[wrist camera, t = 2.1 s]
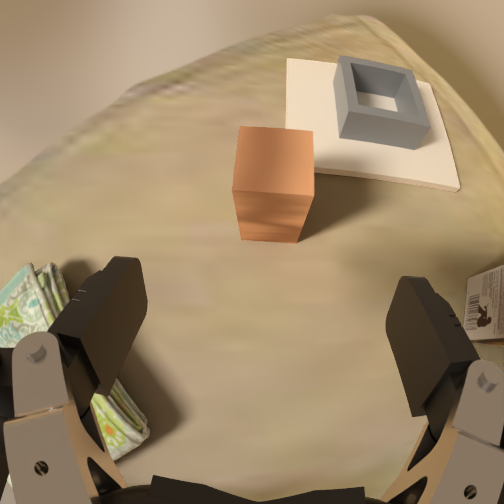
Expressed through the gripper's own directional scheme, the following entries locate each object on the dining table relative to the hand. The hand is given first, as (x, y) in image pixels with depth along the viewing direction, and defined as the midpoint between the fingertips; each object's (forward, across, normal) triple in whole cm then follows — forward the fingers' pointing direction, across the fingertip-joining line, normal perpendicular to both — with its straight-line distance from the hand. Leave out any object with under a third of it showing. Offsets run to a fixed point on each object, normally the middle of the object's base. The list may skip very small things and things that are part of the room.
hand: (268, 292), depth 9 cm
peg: (+17, 0, +5) cm, 17 cm away
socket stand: (+25, -10, -4) cm, 27 cm away
